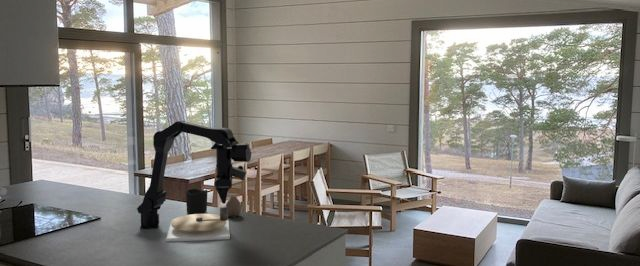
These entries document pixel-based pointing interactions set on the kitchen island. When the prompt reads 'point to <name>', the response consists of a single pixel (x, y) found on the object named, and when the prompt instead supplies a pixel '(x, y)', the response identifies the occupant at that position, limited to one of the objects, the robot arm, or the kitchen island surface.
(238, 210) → the vase
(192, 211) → the pen holder
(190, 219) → the handwheel
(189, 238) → the base plate
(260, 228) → the kitchen island surface
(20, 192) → the kitchen island surface
